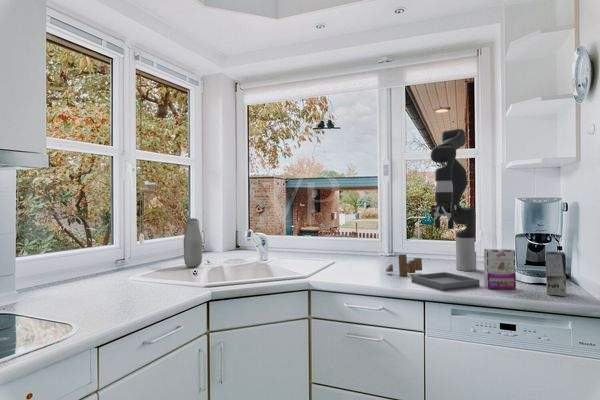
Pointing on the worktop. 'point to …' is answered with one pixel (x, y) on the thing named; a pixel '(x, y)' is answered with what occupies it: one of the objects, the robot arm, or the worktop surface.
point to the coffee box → (556, 273)
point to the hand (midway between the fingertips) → (444, 228)
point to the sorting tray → (445, 281)
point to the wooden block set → (407, 265)
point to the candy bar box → (499, 269)
